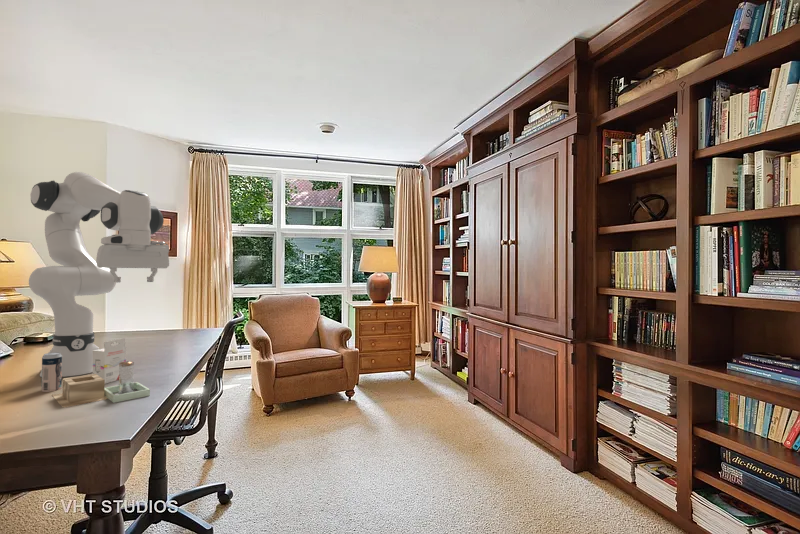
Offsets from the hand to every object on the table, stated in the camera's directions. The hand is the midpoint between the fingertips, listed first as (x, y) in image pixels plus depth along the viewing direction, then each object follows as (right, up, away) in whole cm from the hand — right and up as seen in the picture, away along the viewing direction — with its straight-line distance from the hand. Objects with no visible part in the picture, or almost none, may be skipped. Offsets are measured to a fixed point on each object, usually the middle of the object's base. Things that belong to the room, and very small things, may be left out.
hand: (134, 282), depth 136 cm
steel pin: (+5, -34, -12) cm, 36 cm away
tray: (+5, -34, -12) cm, 36 cm away
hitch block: (-6, -34, -14) cm, 37 cm away
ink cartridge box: (-11, -34, +4) cm, 36 cm away
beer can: (-21, -34, -8) cm, 40 cm away
